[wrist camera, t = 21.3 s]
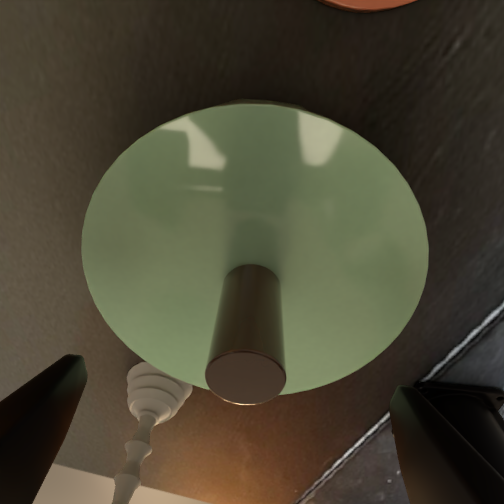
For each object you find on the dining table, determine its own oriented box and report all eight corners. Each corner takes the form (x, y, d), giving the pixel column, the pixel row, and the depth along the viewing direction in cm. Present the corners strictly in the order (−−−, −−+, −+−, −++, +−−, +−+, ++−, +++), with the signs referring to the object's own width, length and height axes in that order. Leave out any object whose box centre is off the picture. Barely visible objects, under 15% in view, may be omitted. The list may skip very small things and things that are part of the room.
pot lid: (367, 389, 18) (404, 511, 13) (114, 365, 18) (57, 479, 13) (476, 122, 11) (643, 169, 6) (63, 79, 11) (-102, 93, 6)
